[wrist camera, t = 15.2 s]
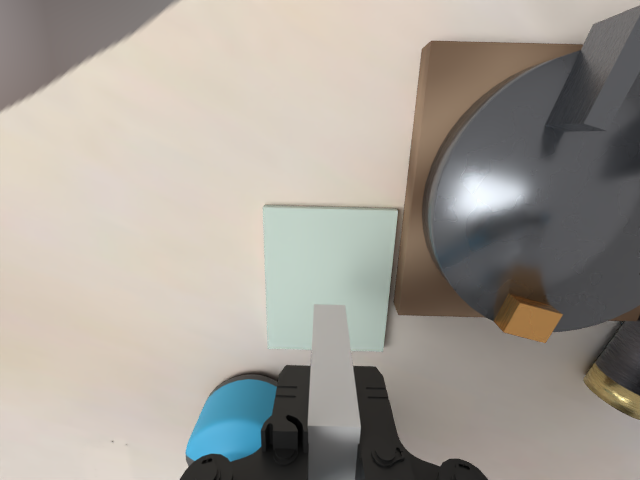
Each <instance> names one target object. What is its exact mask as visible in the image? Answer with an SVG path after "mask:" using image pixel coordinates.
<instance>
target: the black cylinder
mask: <svg viewBox="0 0 640 480" xmlns="http://www.w3.org/2000/svg"><path fill="white" fill-rule="evenodd" d="M584 382H585V384H586V385H587V387H588V388H589V389H590V390H591V391H592V392H593V393H595V394H596V395H597V396H598V397H599V398H601V399H602V400H603V401H605V402H606V403H608V404H609V405H611V406H612V407H614V408H616V409H617V410H619V411H621V412H623V413H624V414H627V415H629V416H631V417H633V418H636V419H639V420H640V315H639V318H638V320H637V321H624V323H623V324H622V326H621V327H620V328H619V330H618V331H617V332H616V334H615V335H614V337H613V338H612V339H611V341H610V342H609V344H608V345H607V346H606V348H605V349H604V351H603V352H602V353H601V355H600V356H599V357H598V359H597V360H596V362H595V363H594V364H593V366H592V367H591V369H590V370H589V371H588V373H587V374H586V376H585V377H584Z"/></svg>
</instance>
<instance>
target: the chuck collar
mask: <svg viewBox="0 0 640 480" xmlns="http://www.w3.org/2000/svg"><path fill="white" fill-rule="evenodd" d="M422 224H423V233H424V237H425V241H426V246H427V248H428V251H429V253H430V256H431V258H432V260H433V262H434V264H435V265H436V267H437V269H438V271H439V272H440V273H441V275H442V276H443V277H444V278H445V280H446V281H447V282H448V283H449V284H450V286H451V287H452V288H453V289H454V290H455V291H456V293H457V294H458V295H459V296H460V297H461V298H462V299H463V300H464V301H465V302H466V303H467V304H468V305H469V306H470V307H471V308H472V309H474V310H475V311H477V312H478V313H480V314H481V315H483V316H484V317H486V318H488V319H490V320H492V321H494V322H495V323H496V324H497V326H498V327H499V328H500V329H501V330H502V331H503V332H504V333H508V334H512V335H516V336H520V337H524V338H527V339H531V340H535V341H539V342H543V343H546V342H547V340H548V338H549V337H550V335H551V333H552V332H563V331H570V330H577V329H581V328H585V327H589V326H593V325H597V324H600V323H602V322H605V321H608V320H611V319H614V318H616V317H618V316H620V315H622V314H624V313H626V312H629V311H631V310H632V309H634V308H636V307H638V306H639V305H640V6H637V7H635V8H632V9H630V10H627V11H625V12H623V13H620V14H618V15H615V16H613V17H610V18H608V19H606V20H603V21H601V22H598V23H596V24H593V26H592V28H591V30H590V32H589V34H588V36H587V38H586V41H585V43H584V45H583V47H582V49H581V50H579V51H576V52H573V53H570V54H567V55H564V56H561V57H558V58H555V59H552V60H549V61H546V62H543V63H540V64H537V65H534V66H532V67H529V68H527V69H524V70H522V71H520V72H518V73H516V74H514V75H512V76H510V77H508V78H507V79H505V80H504V81H502V82H501V83H499V84H497V85H496V86H494V87H493V88H491V89H490V90H489V91H488V92H487V93H485V94H484V95H483V96H482V97H480V98H479V99H478V100H477V101H476V102H475V103H474V104H473V105H472V106H471V107H470V108H469V109H468V110H467V111H466V112H465V113H464V114H463V115H462V116H461V117H460V118H459V120H458V121H457V122H456V124H455V125H454V126H453V127H452V129H451V130H450V131H449V133H448V134H447V136H446V138H445V139H444V141H443V143H442V144H441V146H440V148H439V150H438V152H437V154H436V156H435V158H434V160H433V163H432V165H431V168H430V171H429V174H428V177H427V180H426V184H425V189H424V195H423V202H422Z"/></svg>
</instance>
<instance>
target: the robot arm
mask: <svg viewBox="0 0 640 480" xmlns="http://www.w3.org/2000/svg"><path fill="white" fill-rule="evenodd" d="M180 480H488V479H487V478H486V477H485V475H484V474H483V473H482V472H481V471H480V470H479V469H478V468H477V467H475V466H474V465H472V464H471V463H469V462H467V461H464V460H461V459H449V460H447V461H445V462H443V463H442V465H441V467H440V466H437V465H434V464H431V463H428V462H425V461H423V460H421V459H418V458H416V457H415V456H413V455H412V454H410V453H409V452H408V451H407V450H406V449H405V448H404V446H403V445H402V443H401V442H400V440H399V437H398V435H397V430H396V426H395V422H394V418H393V414H392V410H391V406H390V402H389V400H388V394H387V390H386V386H385V382H384V378H383V376H382V374H381V373H380V372H379V371H378V369H377V368H376V367H370V366H353V362H352V355H351V347H350V339H349V331H348V324H347V316H346V308H345V305H323V304H314V313H313V332H312V351H311V366H297V365H286V366H285V367H284V369H283V370H282V371H281V373H280V374H279V378H278V383H277V389H276V394H275V400H274V405H273V411H272V416H270V417H269V418H268V419H267V420H266V421H265V422H264V424H263V426H262V429H261V447H260V448H259V449H258V450H257V451H256V452H254V453H253V454H251V455H249V456H246V457H244V458H241V459H237V460H234V461H231V462H230V461H229V459H228V458H227V457H225V456H223V455H221V454H208V455H205V456H202V457H200V458H199V459H197V460H196V461H194V462H193V463H192V464H191V465H190V466H189V467H188V468H187V470H186V471H185V472H184V474H183V475H182V477H181V478H180Z"/></svg>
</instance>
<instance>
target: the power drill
mask: <svg viewBox="0 0 640 480" xmlns="http://www.w3.org/2000/svg"><path fill="white" fill-rule="evenodd" d="M277 383H278V382H277V381H275V380H273V379H271V378H269V377H266V376H262V375H256V374H247V375H240V376H237V377H233V378H231V379H229V380H227V381H224V382H223V383H221V384H220V385H219V386H217V387H216V388H215V389H214V390H213V391H212V392H211V394H210V395H209V397H208V399H207V401H206V403H205V405H204V407H203V409H202V412H201V414H200V416H199V418H198V421H197V423H196V425H195V428H194V430H193V432H192V434H191V437H190V439H189V441H188V445H187V449H186V461H187V464H188V466H190V465H191V464H192V463H193V462H194V461H196V460H197V459H199V458H200V457H202V456H205V455H208V454H221V455H223V456H225V457H227V458H228V459H229V461H230V462H231V461H234V460H237V459H241V458H244V457H246V456H249V455H251V454H253V453H254V452H256V451H257V450H258V449H259V448H260V447H261V429H262V426H263V424H264V422H265V421H266V420H267V419H268V418H269V417H270V416H272V411H273V405H274V400H275V394H276V389H277Z"/></svg>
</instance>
